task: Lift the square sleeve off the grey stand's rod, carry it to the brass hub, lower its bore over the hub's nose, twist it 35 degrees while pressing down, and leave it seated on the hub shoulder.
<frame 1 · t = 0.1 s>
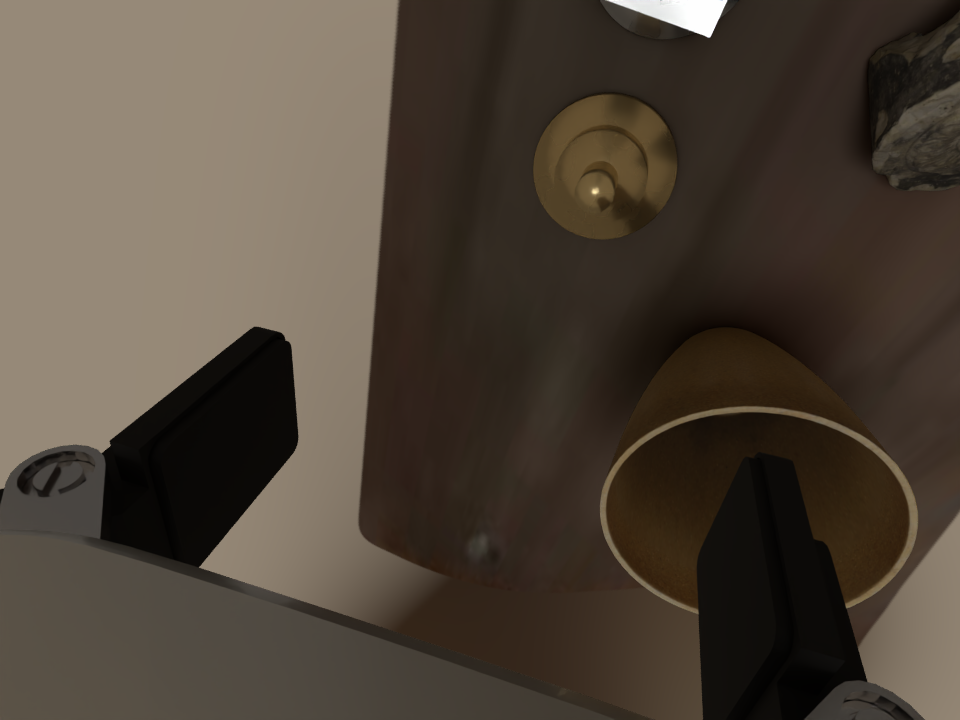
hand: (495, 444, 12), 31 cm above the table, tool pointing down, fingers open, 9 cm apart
plant pot: (724, 366, 44), on the table
hub: (604, 167, 39), on the table
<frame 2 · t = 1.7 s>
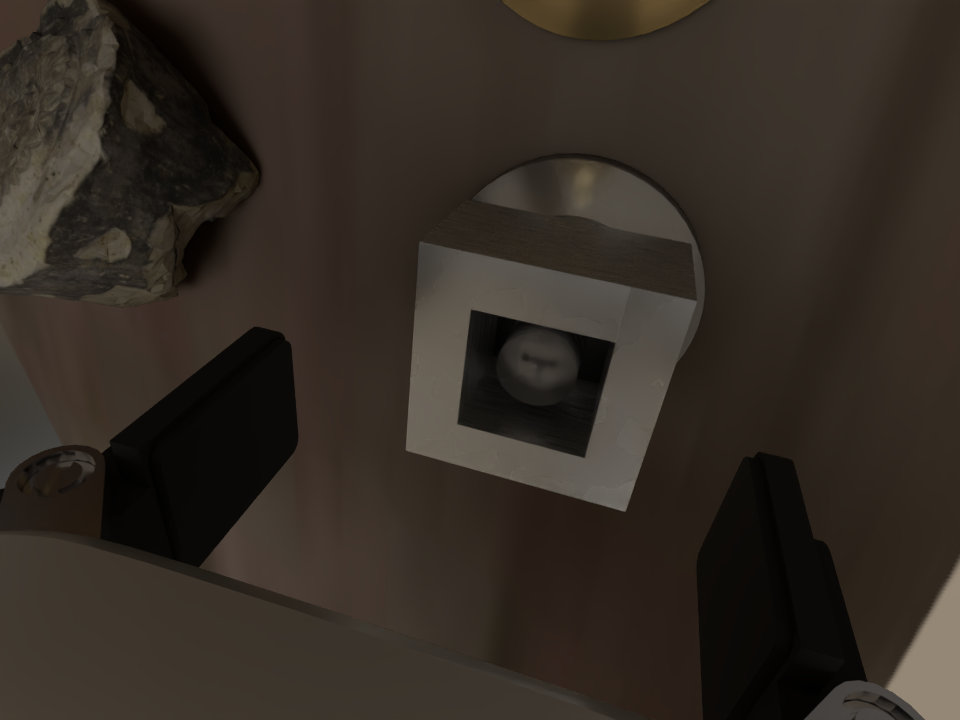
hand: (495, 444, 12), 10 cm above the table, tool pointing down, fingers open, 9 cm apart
stand: (568, 285, 21), on the table
square sleeve: (555, 320, 19), point 3 cm above the table, touching stand
fossil: (145, 142, 23), on the table
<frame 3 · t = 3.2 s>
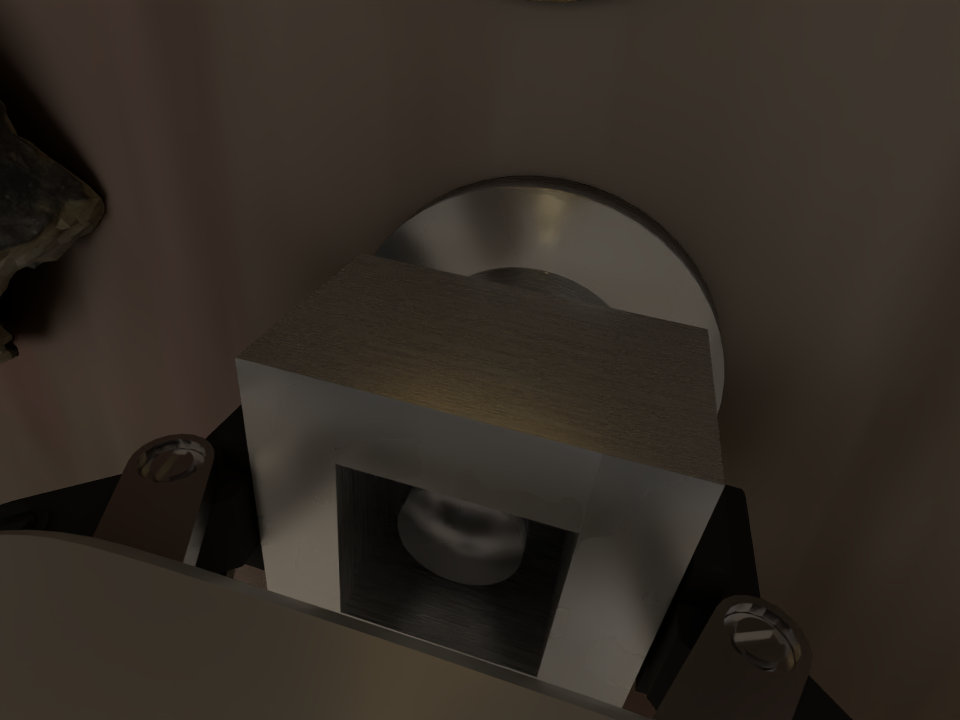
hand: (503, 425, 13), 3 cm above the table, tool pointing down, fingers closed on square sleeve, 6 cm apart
stand: (530, 355, 15), on the table
square sleeve: (503, 426, 13), point 3 cm above the table, touching gripper, stand
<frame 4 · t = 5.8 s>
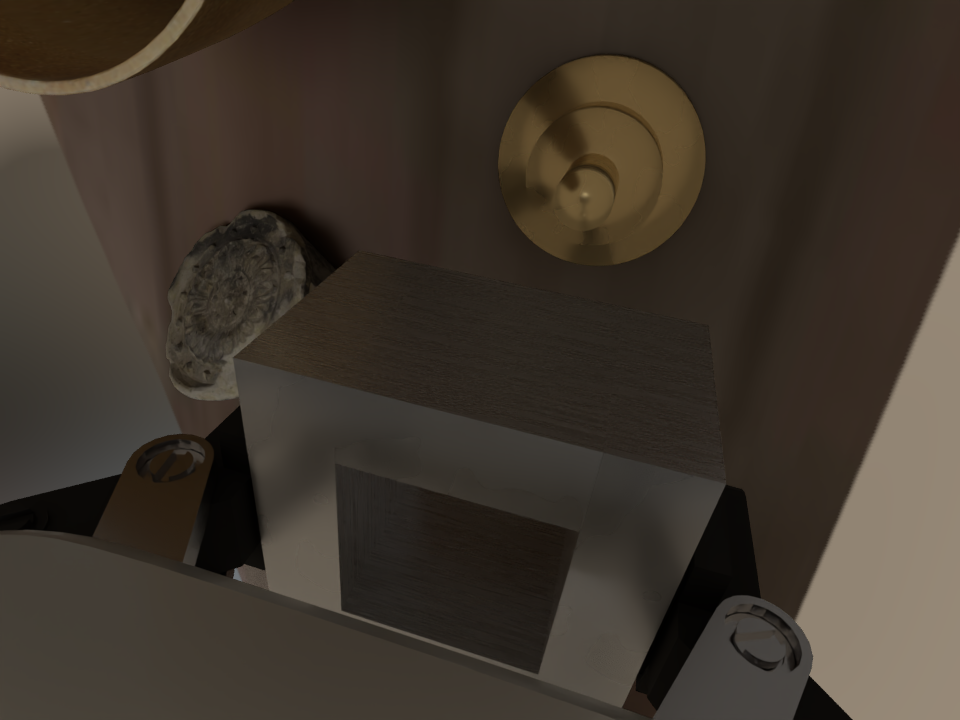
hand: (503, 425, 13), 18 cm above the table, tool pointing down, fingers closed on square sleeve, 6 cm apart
square sleeve: (503, 423, 13), point 18 cm above the table, touching gripper
fossil: (288, 285, 36), on the table
hub: (599, 164, 27), on the table
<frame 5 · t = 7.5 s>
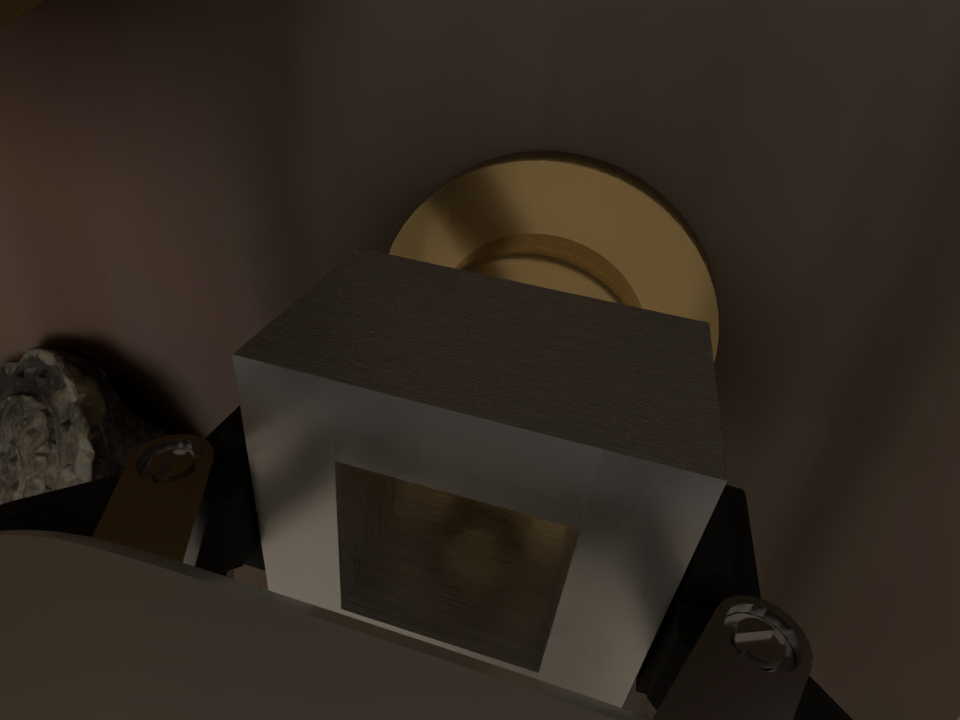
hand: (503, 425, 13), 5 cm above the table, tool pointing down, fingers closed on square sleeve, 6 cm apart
square sleeve: (503, 421, 13), point 5 cm above the table, touching gripper
fossil: (122, 435, 25), on the table
hub: (543, 318, 17), on the table
when the fingers open (3 cm above the table, at t = 8.8 s): square sleeve stays where it is, resting on hub.
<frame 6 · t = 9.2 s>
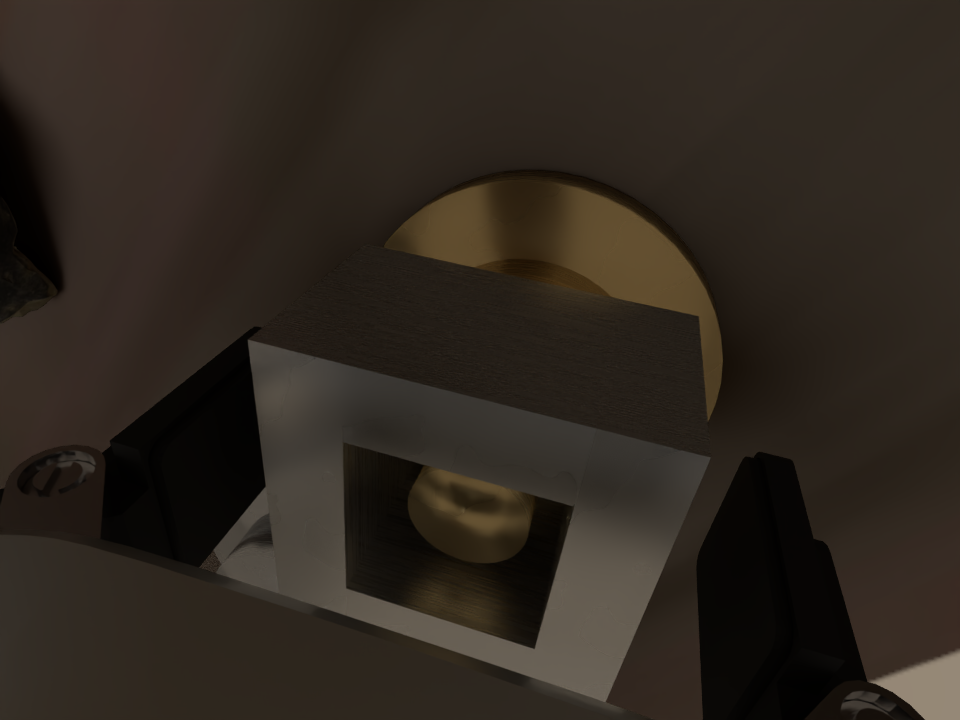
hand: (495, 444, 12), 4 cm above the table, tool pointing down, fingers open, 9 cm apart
stand: (331, 547, 22), on the table
square sleeve: (502, 412, 13), point 3 cm above the table, touching hub
hub: (533, 346, 15), on the table
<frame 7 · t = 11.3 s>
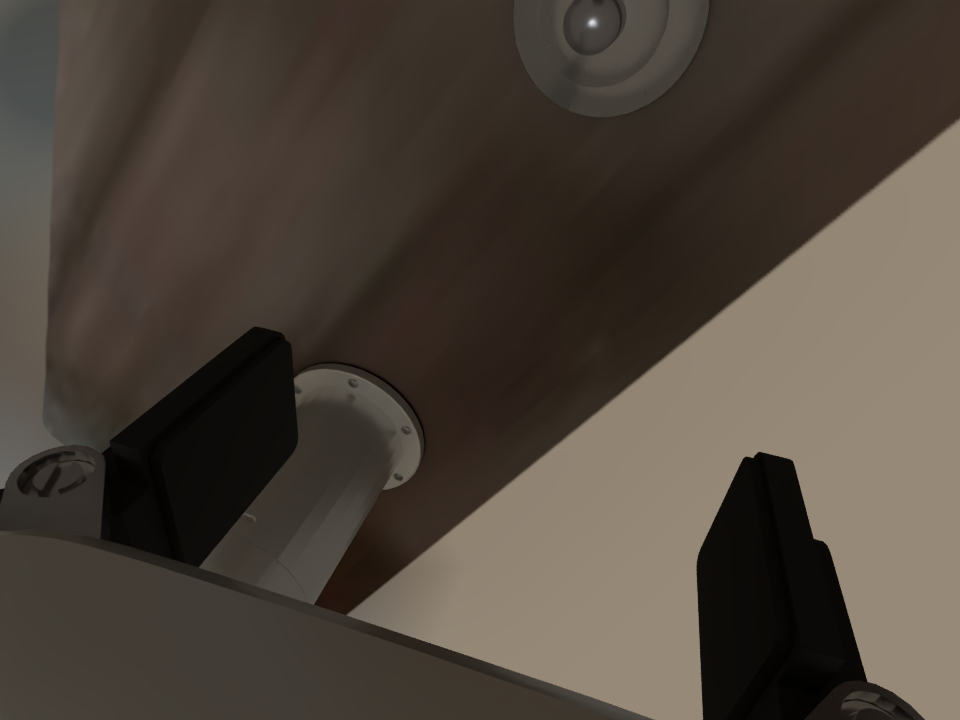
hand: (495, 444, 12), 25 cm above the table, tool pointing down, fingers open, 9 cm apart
stand: (609, 13, 29), on the table
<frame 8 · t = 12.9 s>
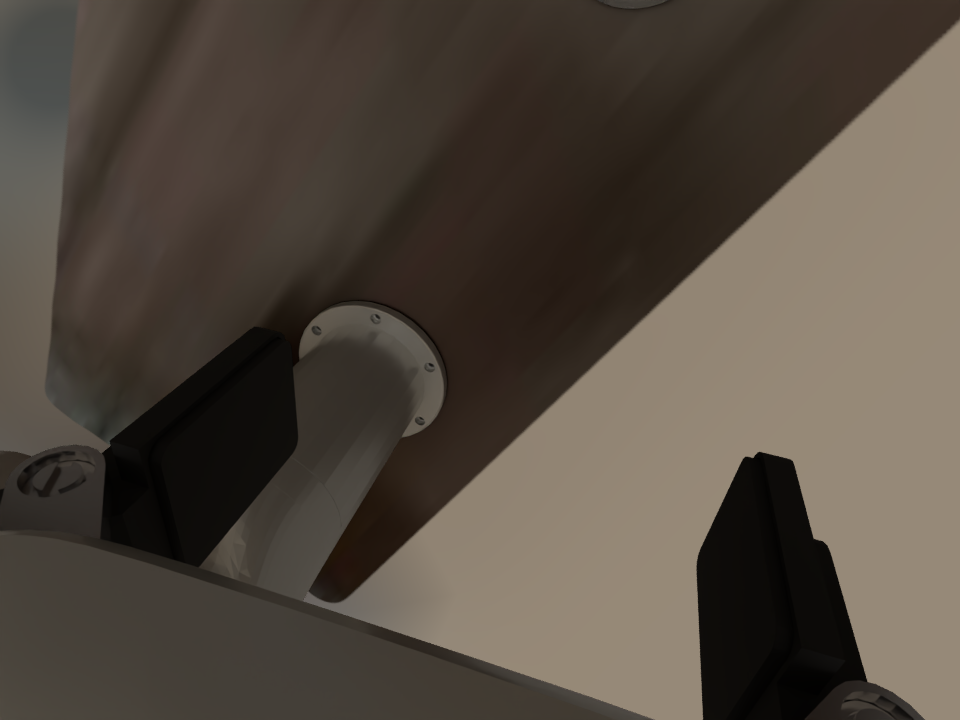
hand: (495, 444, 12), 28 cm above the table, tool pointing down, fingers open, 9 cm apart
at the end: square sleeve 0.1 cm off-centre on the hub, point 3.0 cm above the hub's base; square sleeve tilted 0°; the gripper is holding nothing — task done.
